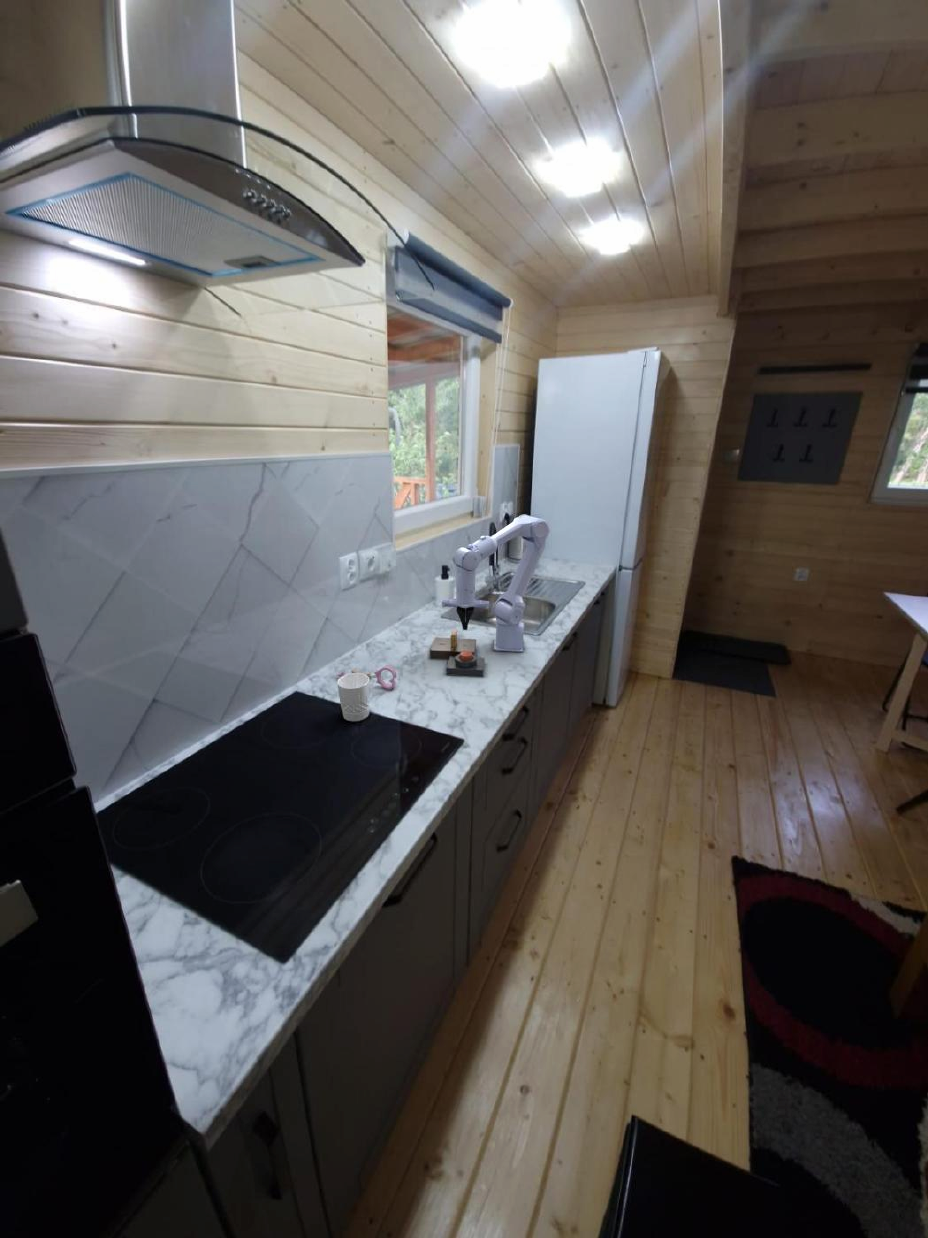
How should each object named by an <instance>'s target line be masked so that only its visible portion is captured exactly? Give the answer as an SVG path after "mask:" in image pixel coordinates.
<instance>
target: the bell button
mask: <svg viewBox="0 0 928 1238" xmlns="http://www.w3.org/2000/svg"><path fill="white" fill-rule="evenodd" d="M460 659H461V660H463V661H469V660H472V653H471V652H469V651H463V652H461V653H460Z"/></svg>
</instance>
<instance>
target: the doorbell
mask: <svg viewBox="0 0 928 1238" xmlns="http://www.w3.org/2000/svg"><path fill="white" fill-rule="evenodd" d="M485 662H486V661H485V657H478V656H476V654H475V655H474V654H472V660H469V661H463V660H461V659H460V654H458V655H457V656H456V657H453V656H450V657H449V659H448V662H447V664H446V675H448V676H449V675H450V676H464V677H465V676H467V677H484V671H485V665H486V663H485Z"/></svg>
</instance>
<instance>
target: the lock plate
mask: <svg viewBox="0 0 928 1238" xmlns="http://www.w3.org/2000/svg"><path fill="white" fill-rule="evenodd" d="M476 650H477V639H475V638H458V637H457V643H456V647H451V637H438V636H436V637H435V636H434V638H433V641H432V644H431V647H430V650H429V659H434V660H435V659H436V660H449V657H450V656H453V657H456V656H457V655H458V654H460V653H461V652H463V651H469V652H471V653H472V654H474V655H475V656H476Z"/></svg>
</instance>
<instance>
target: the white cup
mask: <svg viewBox="0 0 928 1238" xmlns="http://www.w3.org/2000/svg"><path fill="white" fill-rule="evenodd" d="M361 673H362V672H360V673H352V672H351V673H346V674H347V675H344V676H342V677H339V678H338V679H337V680H336V681H337V682H336V683H337V690H338V691H337V692H338V698H339V703H340V708H341V712H342V717H343V719H344V720H346V721H349V722H360V721H363V720H365V719H367V718H368V717H369V715H370V704H371V702H370V701H371V700H370V699H371V697H370V696H371V695H370V694H371V693H370V692H371V689H370V680H369V677H368V676H367V675H365V674H366V673H364V674H361Z"/></svg>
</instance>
